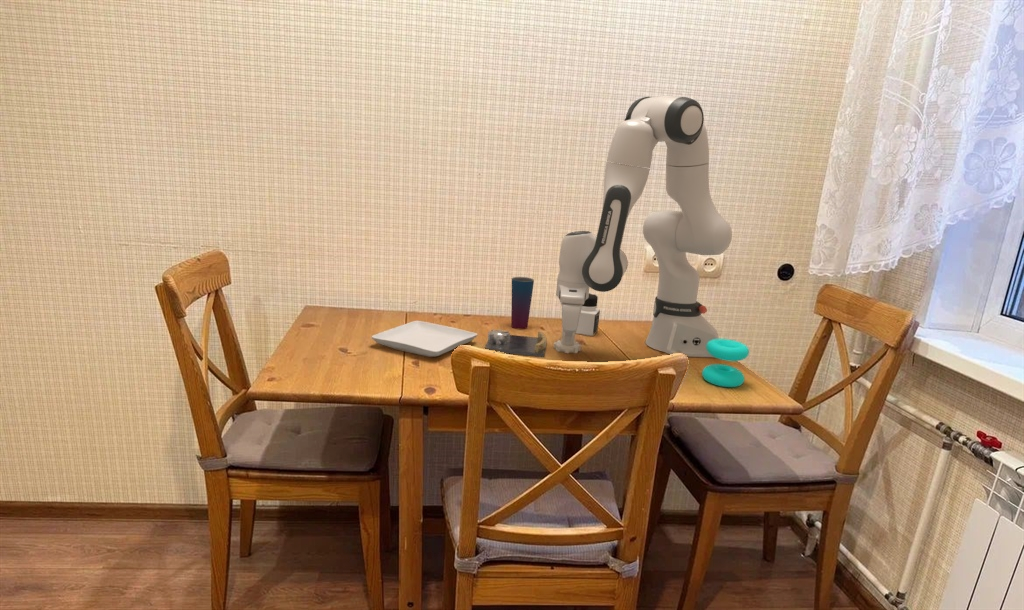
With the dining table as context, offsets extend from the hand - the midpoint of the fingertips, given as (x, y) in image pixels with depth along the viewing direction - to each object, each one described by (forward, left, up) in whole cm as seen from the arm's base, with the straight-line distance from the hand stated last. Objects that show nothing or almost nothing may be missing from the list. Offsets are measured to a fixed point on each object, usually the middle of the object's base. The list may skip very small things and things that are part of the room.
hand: (568, 339), depth 167 cm
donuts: (-39, +14, -3) cm, 42 cm away
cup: (+15, -18, -3) cm, 24 cm away
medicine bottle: (-5, -19, -3) cm, 20 cm away
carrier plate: (+14, +2, -3) cm, 14 cm away
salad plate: (+38, +8, -4) cm, 39 cm away
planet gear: (0, 0, -3) cm, 3 cm away
